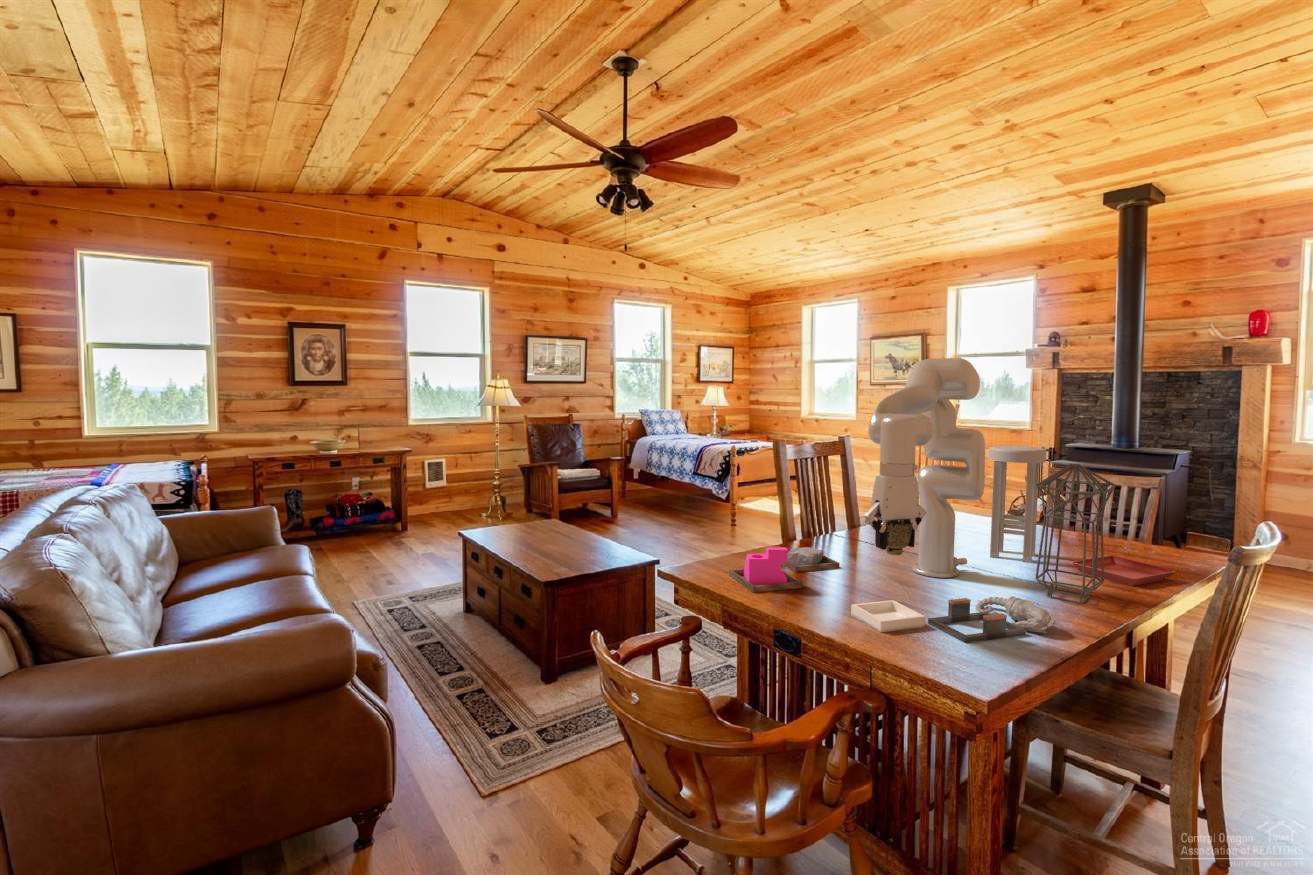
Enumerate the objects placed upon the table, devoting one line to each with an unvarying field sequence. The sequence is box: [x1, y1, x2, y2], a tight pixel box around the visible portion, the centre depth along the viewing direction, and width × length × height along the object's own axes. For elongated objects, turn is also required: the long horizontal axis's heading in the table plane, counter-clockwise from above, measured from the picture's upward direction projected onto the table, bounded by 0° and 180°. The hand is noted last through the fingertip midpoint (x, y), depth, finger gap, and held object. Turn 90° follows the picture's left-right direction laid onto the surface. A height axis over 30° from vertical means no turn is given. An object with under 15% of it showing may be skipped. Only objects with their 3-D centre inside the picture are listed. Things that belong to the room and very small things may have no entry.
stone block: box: [787, 546, 825, 566], centre depth 200 cm, size 12×5×10 cm
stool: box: [988, 445, 1047, 564], centre depth 206 cm, size 16×16×35 cm
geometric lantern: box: [1034, 463, 1116, 604], centre depth 166 cm, size 16×16×35 cm
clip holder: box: [927, 597, 1027, 644], centre depth 145 cm, size 16×12×5 cm
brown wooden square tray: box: [728, 568, 804, 593], centre depth 181 cm, size 15×17×2 cm
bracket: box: [743, 546, 789, 586], centre depth 181 cm, size 12×10×10 cm
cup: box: [880, 520, 913, 556], centre depth 149 cm, size 8×7×8 cm
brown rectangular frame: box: [781, 550, 840, 572], centre depth 200 cm, size 15×17×2 cm
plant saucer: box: [1071, 555, 1176, 587], centre depth 186 cm, size 18×18×3 cm
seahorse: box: [975, 596, 1056, 634], centre depth 151 cm, size 5×12×20 cm
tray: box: [850, 599, 926, 633], centre depth 150 cm, size 12×12×2 cm
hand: (894, 546), depth 149 cm, fingers closed on cup, 6 cm apart
